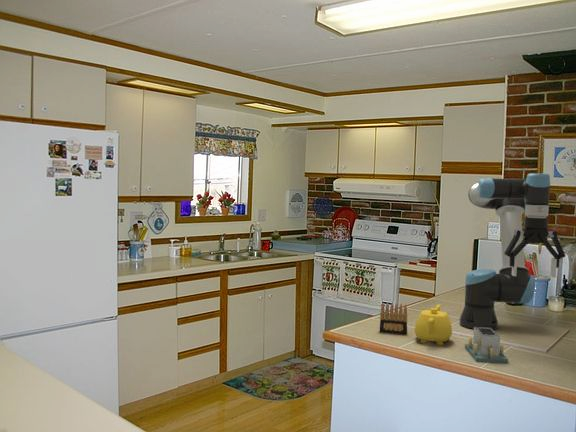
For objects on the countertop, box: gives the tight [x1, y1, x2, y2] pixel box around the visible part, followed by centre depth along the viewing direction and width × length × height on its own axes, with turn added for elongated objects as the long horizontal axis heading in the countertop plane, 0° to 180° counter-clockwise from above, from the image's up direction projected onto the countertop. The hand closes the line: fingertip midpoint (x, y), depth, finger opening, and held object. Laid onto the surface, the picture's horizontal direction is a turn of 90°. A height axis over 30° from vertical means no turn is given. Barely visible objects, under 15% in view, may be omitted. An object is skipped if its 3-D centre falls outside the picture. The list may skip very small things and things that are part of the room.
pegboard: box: [464, 337, 509, 364], centre depth 187 cm, size 15×10×5 cm
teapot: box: [414, 303, 453, 346], centre depth 203 cm, size 13×20×12 cm
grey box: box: [472, 327, 501, 357], centre depth 187 cm, size 11×6×7 cm, turn 174°
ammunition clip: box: [379, 301, 408, 336], centre depth 212 cm, size 11×2×12 cm, turn 74°
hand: (533, 276), depth 192 cm, fingers open, 13 cm apart
